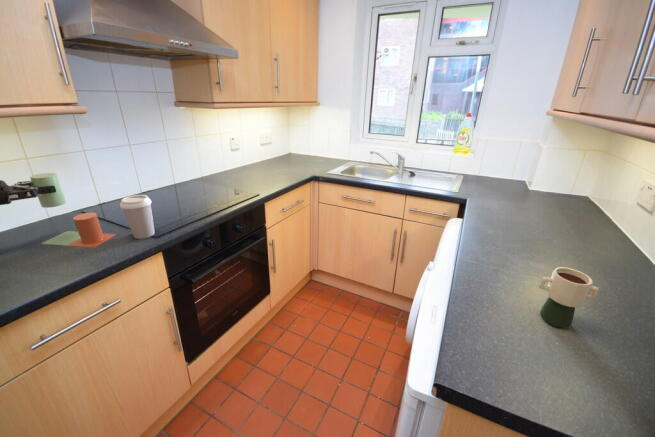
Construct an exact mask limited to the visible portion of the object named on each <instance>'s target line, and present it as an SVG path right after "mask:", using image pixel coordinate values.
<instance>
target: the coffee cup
mask: <svg viewBox="0 0 655 437" xmlns="http://www.w3.org/2000/svg"><path fill="white" fill-rule="evenodd" d="M152 203H153V201H152V199H151V198H150V197H149V196H148V195H146V194H132V195H128V196H125V197H123V198H122V199H121V201H120V204H119V208H120V209H122V211H123V214H124V215H125V219H126V220H127V223H128V225H129V228H130V230H131V233H132V235H133V238H134V239H137V240H142V239H147V238H150V237H152V236H154V235H155V234H156V233H155V225H154V218H153V210H152Z"/></svg>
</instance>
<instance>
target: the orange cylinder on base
mask: <svg viewBox="0 0 655 437" xmlns="http://www.w3.org/2000/svg"><path fill="white" fill-rule="evenodd" d="M72 219H73V223H74V225H75V228H76V230H77V231H76V232H78V233H79V236H80V239H81V242H82V243H83V244H91V243H95V242H98V241H101V240H102V239H104V235H103V233H104V232H103V229H102V226H101V223H100V220H99V217H98V213H96V212H84V213H79V214H77V215H74V217H73V218H72Z"/></svg>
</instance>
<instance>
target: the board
mask: <svg viewBox="0 0 655 437" xmlns="http://www.w3.org/2000/svg"><path fill="white" fill-rule="evenodd" d="M103 235H104V239H102V240H101V241H98V242H95V243H91V244H83V243H82V242H81V239H80V236H79V233H78V231H75V230H66V231H64V232H61V233H60V234H58V235H55V236H54V237H51V238H49V239H47V240H45V241H42V242H41V243H40V244H41V245H52V246H66V247H67V246H68V247H81V248H82V247H83V248H97V247H98V246H100V245H101V244H103V243H104V242H106V241H108V240H111V238H113V237H114V236H116V235H117V233H105V232H103Z"/></svg>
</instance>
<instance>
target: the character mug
mask: <svg viewBox="0 0 655 437" xmlns="http://www.w3.org/2000/svg"><path fill="white" fill-rule="evenodd" d="M546 282H548V284H547V285H546ZM593 283H594V282H593V279H592V278H591V277H590V276H589V275H587V274H586V273H584V272H582V271H579V270H578V269H574V268H571V267H567V266H566V267H565V266H559V267H556V268H555V269H554V270H553V271H552V274H551V276H550V277H547V276H542V278H541V279H540V282H539V285H538V289H540V290H544V291H546V294H547V296H548V297H547V299H546V301H545V302H544V304H543V305H542V307H541V309H540V311H539V315H540V316H541V317H542V318H543V319H544V320H545V321H546V322H548V323H549V324H551V325H553V326H554V327H558V328H562V329H564V328H569V327H570V326H571V325H572V324H573V321H574V316H575V312H576V308H579V307H582V305H583V304H584V303H585V301H586V300H587V299H589V300H594V299H595V298H596V297H597V294H598V292H599V290H600V289H599V287H598V286H595V285H593ZM590 291H591V292H590ZM589 292H590V294H589Z"/></svg>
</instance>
